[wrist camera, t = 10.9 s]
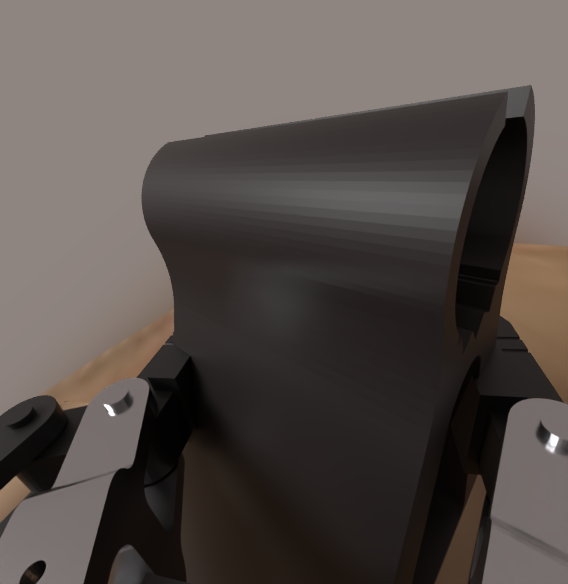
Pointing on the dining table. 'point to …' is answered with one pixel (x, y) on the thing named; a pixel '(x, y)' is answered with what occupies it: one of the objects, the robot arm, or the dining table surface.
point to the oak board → (453, 568)
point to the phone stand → (336, 330)
